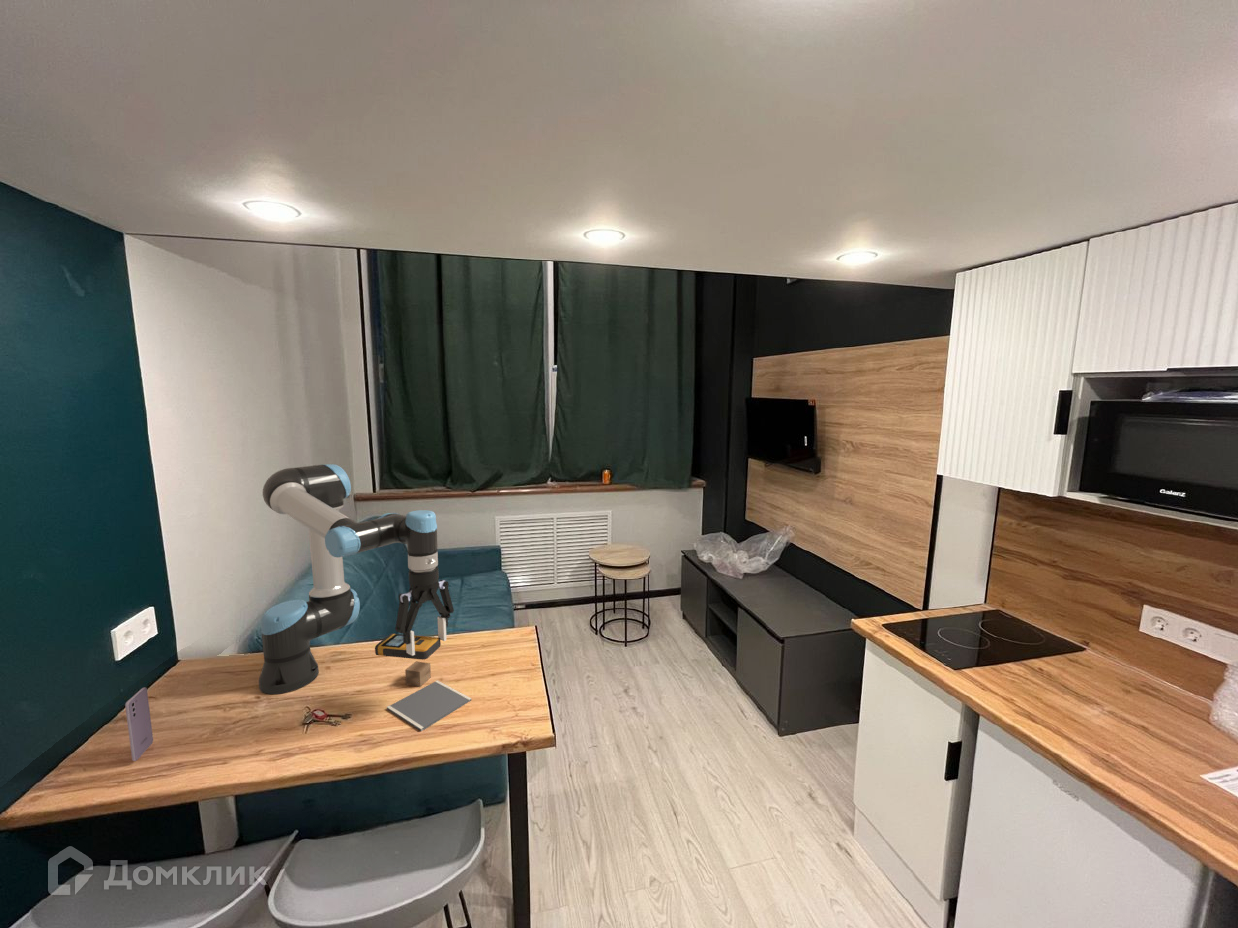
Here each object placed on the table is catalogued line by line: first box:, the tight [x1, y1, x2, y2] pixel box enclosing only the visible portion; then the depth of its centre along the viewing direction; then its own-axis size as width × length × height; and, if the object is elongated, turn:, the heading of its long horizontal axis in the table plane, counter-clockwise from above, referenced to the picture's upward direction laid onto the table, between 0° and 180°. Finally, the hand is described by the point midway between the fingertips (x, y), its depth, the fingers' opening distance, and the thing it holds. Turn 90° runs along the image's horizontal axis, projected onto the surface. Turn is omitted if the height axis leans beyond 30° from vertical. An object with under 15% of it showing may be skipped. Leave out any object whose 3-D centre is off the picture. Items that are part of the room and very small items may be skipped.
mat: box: [386, 680, 472, 732], centre depth 137 cm, size 16×16×1 cm
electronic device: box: [374, 633, 442, 661], centre depth 137 cm, size 8×16×3 cm, turn 79°
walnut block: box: [404, 660, 432, 688], centre depth 148 cm, size 5×5×5 cm
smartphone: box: [124, 687, 154, 762], centre depth 117 cm, size 7×1×15 cm, turn 18°
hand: (427, 646), depth 135 cm, fingers closed on electronic device, 9 cm apart
